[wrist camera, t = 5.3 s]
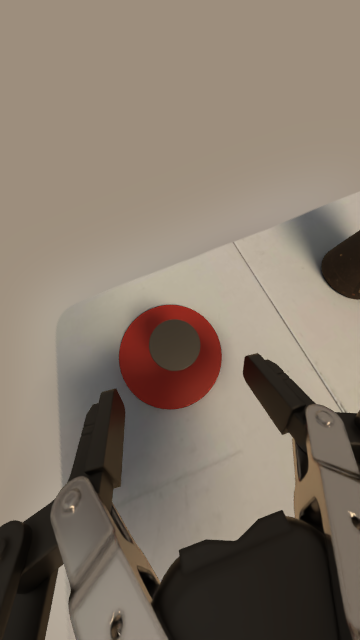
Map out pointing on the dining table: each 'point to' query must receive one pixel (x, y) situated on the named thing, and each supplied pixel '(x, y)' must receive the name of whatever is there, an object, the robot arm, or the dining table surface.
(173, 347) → the lid
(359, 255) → the container
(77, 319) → the dining table surface
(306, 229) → the dining table surface
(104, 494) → the robot arm
